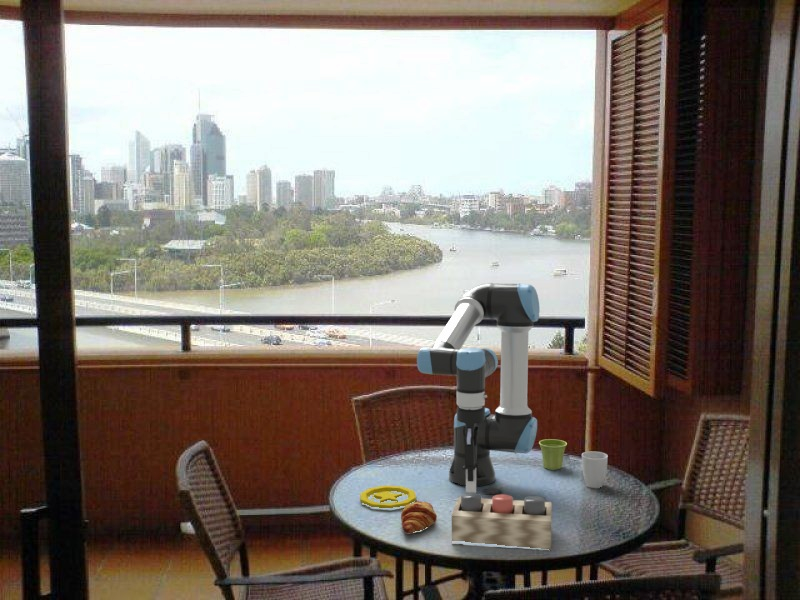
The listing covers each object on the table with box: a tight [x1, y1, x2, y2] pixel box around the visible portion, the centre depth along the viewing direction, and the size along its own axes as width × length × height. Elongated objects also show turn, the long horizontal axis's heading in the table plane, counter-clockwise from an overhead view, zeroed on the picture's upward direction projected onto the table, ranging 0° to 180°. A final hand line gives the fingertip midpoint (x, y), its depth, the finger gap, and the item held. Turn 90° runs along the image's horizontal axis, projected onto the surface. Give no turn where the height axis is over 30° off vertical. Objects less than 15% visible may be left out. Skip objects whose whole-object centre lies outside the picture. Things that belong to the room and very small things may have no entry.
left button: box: [460, 492, 482, 512], centre depth 223 cm, size 6×6×5 cm
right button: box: [523, 495, 546, 516], centre depth 220 cm, size 6×6×5 cm
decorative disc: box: [360, 485, 417, 508], centre depth 252 cm, size 17×18×2 cm
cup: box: [581, 451, 609, 489], centre depth 262 cm, size 8×8×10 cm
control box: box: [451, 496, 553, 551], centre depth 222 cm, size 26×14×8 cm, turn 79°
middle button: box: [491, 494, 514, 514], centre depth 222 cm, size 6×6×5 cm
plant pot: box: [538, 438, 568, 471], centre depth 281 cm, size 9×9×9 cm
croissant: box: [400, 500, 438, 534], centre depth 233 cm, size 21×10×8 cm, turn 163°
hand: (471, 491), depth 223 cm, fingers closed
